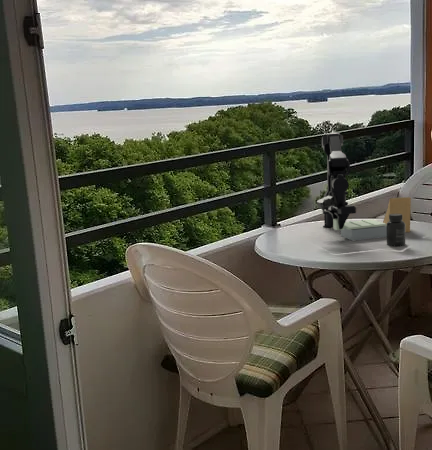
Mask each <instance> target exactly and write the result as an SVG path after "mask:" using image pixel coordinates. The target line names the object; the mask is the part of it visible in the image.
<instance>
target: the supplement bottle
mask: <svg viewBox="0 0 432 450" xmlns="http://www.w3.org/2000/svg"><path fill="white" fill-rule="evenodd" d="M402 219H403V218H402V214H389V220H390V221H389V222H387V224H386V235H387V237H386V246H389V247H395V248H397V247H399V248H400V247H405V246H406V232H405V223H404V222H403V221H402Z"/></svg>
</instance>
